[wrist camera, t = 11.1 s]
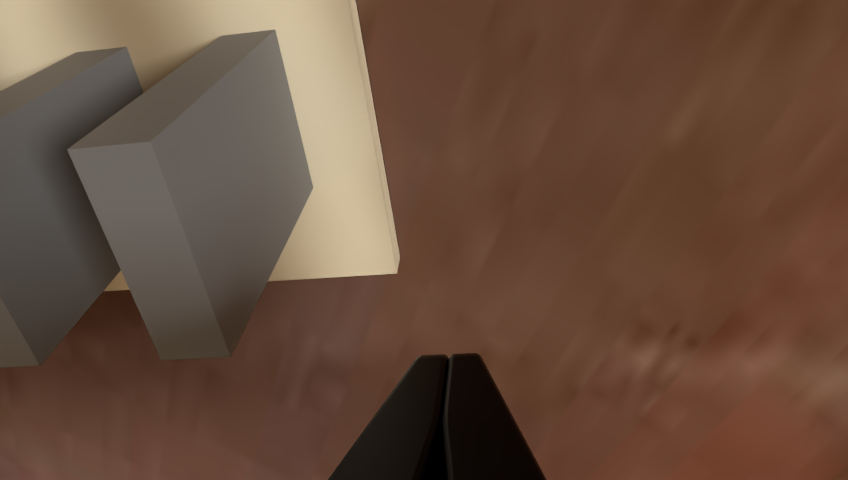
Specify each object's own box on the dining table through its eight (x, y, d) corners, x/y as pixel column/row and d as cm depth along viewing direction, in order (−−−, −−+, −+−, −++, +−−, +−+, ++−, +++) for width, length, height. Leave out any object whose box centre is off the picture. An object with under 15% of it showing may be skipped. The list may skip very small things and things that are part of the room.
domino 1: (126, 46, 19) (-78, 162, 12) (181, 198, 21) (40, 365, 14) (76, 52, 19) (-153, 170, 12) (136, 202, 21) (-25, 368, 15)
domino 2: (275, 29, 18) (150, 141, 11) (313, 188, 21) (230, 357, 14) (221, 35, 18) (67, 149, 11) (265, 191, 21) (161, 360, 14)
